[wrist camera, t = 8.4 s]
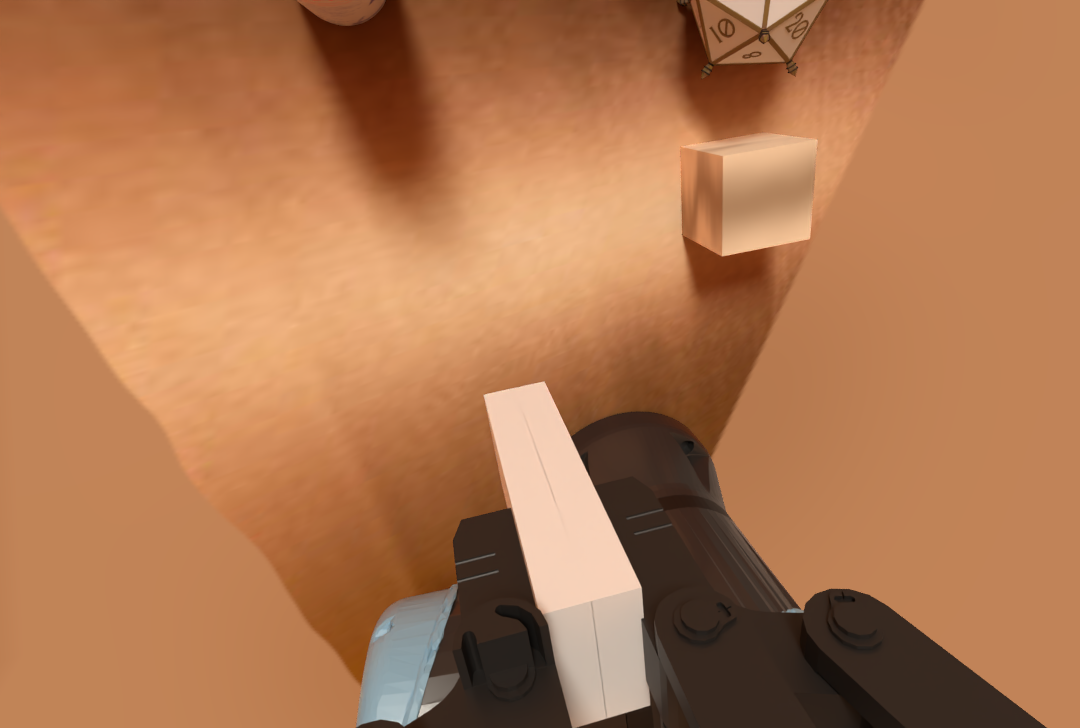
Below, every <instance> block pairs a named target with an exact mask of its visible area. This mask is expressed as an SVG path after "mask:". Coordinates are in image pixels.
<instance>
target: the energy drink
mask: <svg viewBox="0 0 1080 728" xmlns="http://www.w3.org/2000/svg"><path fill="white" fill-rule="evenodd" d="M297 1H298V2H299V3H301V4H302V5H303V6H304V7H306V8H307V9H308V10H310V11H311V12H312V13H314V14H315V15H316V16H318V17H319V18H321V19H323V20H325V21H327V22H329V23H333V24H337V25H341V26H352V25H357V24H361V23H363V22H366V21H368V20H370V19H371V18H372V17H374V16H375V15H376V14H377V13H378V12H379V11H380V9H381V8H382V7H383V5H384V3H385V1H386V0H297Z"/></svg>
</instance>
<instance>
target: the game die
mask: <svg viewBox="0 0 1080 728" xmlns="http://www.w3.org/2000/svg"><path fill="white" fill-rule="evenodd" d="M827 1H828V0H678V1H677V2H678V3H680V5H682V6H684V5H686V6H687V4H689V3H690V6H691V9H692V12H693V15H694V18H695V21H696V24H697V27H698V30H699V34H700V37H701V40H702V43H703V46H704V49H705V52H706V55H707V58H708V61H709V63H708V64H707V65H706V66H704V69H703V70H701V71H702V79H703V78H705V77H706V76H708V75H710V72H712V67H713V66H716V65H746V64H777V63H786V64H787V68H786V69H788V73H790V74H792V75H794V76H795V77H796V72H797V68H798V67H796V65H795V64H796V63H794V62H793V61H792V59H793V57H794V56H795V54H796V52H797V51H798V49H799V47H800V46H801V44H802V42H803V41H804V39H805V37H806V36H807V34H808V32H809V31H810V29H811V27H812V26H813V24H814V22H815V21H816V19H817V18H818V16H819V14H820V13H821V11H822V9H823V8H824V6H825V4H826V3H827Z"/></svg>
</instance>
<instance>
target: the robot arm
mask: <svg viewBox="0 0 1080 728" xmlns="http://www.w3.org/2000/svg"><path fill="white" fill-rule="evenodd" d="M484 399H485V404H486V409H487V414H488V419H489V424H490V429H491V434H492V439H493V443H494V448H495V453H496V458H497V463H498V468H499V473H500V478H501V483H502V487H503V491H504V495H505V499H506V503H507V508H508V509H504V510H500V511H496V512H492V513H488V514H484V515H480V516H475V517H471V518H467V519H463V520H461V522H460V525H459V527H458V530H457V532H456V534H455V537H454V539H453V547H454V556H455V564H456V575H457V582H458V584H454V585H452V586H451V587H450V588H449V589H445V590H440V591H436V592H431V593H426V594H422V595H417V596H412V597H408V598H404V599H401V600H399V601H397V602H395V603H393V604H392V605H391V606H389V607H388V608H387V609H386V610H385V611H384V613H383V614H382V615H381V617H380V618H379V620H378V622H377V624H376V626H375V629H374V631H373V634H372V637H371V641H370V644H369V649H368V653H367V657H366V663H365V668H364V674H363V679H362V686H361V693H360V700H359V708H358V716H357V724H356V728H1046V727H1045V726H1044V725H1042V724H1041V723H1040V722H1039V721H1037V720H1036V719H1035V718H1033V717H1032V716H1031V715H1029V714H1028V713H1027V712H1026V711H1024V710H1023V709H1022V708H1020V707H1019V706H1018V705H1016V704H1015V703H1014V702H1012V701H1011V700H1010V699H1009V698H1007V697H1006V696H1004V695H1003V694H1002V693H1001V692H999V691H998V690H997V689H995V688H994V687H993V686H992V685H990V684H989V683H988V682H986V681H985V680H984V679H982V678H981V677H980V676H978V675H977V674H976V673H974V672H973V671H972V670H971V669H969V668H968V667H967V666H965V665H964V664H963V663H961V662H960V661H959V660H958V659H956V658H955V657H954V656H952V655H951V654H950V653H948V652H947V651H946V650H944V649H943V648H942V647H941V646H939V645H938V644H937V643H935V642H934V641H933V640H931V639H930V638H929V637H927V636H926V635H925V634H924V633H922V632H921V631H920V630H918V629H917V628H916V627H914V626H913V625H912V624H910V623H909V622H908V621H907V620H905V619H904V618H903V617H901V616H900V615H899V614H897V613H896V612H895V611H893V610H892V609H891V608H890V607H888V606H887V605H885V604H884V603H882V602H880V601H878V600H877V599H875V598H873V597H871V596H870V595H867V594H863V593H860V592H857V591H854V590H850V589H829V590H826V591H823V592H820V593H817V594H815V595H814V596H813V597H812V598H811V599H810V600H809V601H808V602H807V603H806V604H805V609H804V611H803V610H801V609H800V607H799V606H798V605H797V604H796V602H795V601H794V600H793V598H792V597H791V596H790V595H789V593H788V592H787V591H786V590H785V588H784V587H783V586H782V584H781V583H780V582H779V580H778V579H777V578H776V576H775V575H774V574H773V573H772V571H771V570H770V569H769V567H768V566H767V565H766V564H765V562H764V561H763V560H762V558H761V557H760V556H759V554H758V553H757V552H756V550H755V549H754V548H753V547H752V545H751V544H750V543H749V541H748V540H747V539H746V537H745V536H744V535H743V534H742V532H741V531H740V529H739V528H738V527H737V526H736V525H735V523H734V522H733V521H732V519H731V518H730V517H729V515H728V514H727V512H726V510H725V506H724V502H723V498H722V494H721V490H720V486H719V482H718V478H717V474H716V471H715V467H714V464H713V462H712V459H711V457H710V455H709V454H708V452H707V450H706V449H705V448H704V446H703V445H702V444H701V443H700V441H699V440H698V439H697V438H696V436H695V435H694V434H693V433H692V432H691V431H690V430H689V429H688V428H687V427H686V426H684V425H683V424H682V423H680V422H679V421H677V420H675V419H673V418H670V417H668V416H665V415H662V414H657V413H651V412H628V413H622V414H617V415H613V416H610V417H607V418H604V419H601V420H599V421H596V422H594V423H592V424H590V425H588V426H587V427H585V428H583V429H582V430H580V431H579V432H577V433H576V434H574V435H573V436H572V437H570V435H569V433H568V431H567V428H566V426H565V424H564V422H563V420H562V418H561V416H560V414H559V411H558V409H557V407H556V405H555V403H554V401H553V399H552V397H551V395H550V392H549V390H548V388H547V386H546V384H545V382H539V383H535V384H530V385H526V386H521V387H517V388H512V389H508V390H503V391H498V392H494V393H489V394H485V395H484Z"/></svg>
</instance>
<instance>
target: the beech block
mask: <svg viewBox="0 0 1080 728" xmlns="http://www.w3.org/2000/svg"><path fill="white" fill-rule="evenodd" d="M817 141H818V139H811V138H804V137H796V136H788V135H781V134H773V133H766V132H762V133H756V134H750V135H744V136H739V137H733V138H727V139H721V140H715V141H710V142H704V143H698V144H692V145H687V146H681V147H680V157H681V201H682V235H683V236H685V237H687V238H689V239H691V240H692V241H694V242H696V243H698V244H700V245H702V246H704V247H705V248H707V249H709V250H711V251H713V252H715V253H717V254H718V255H720V256H727V255H732V254H737V253H742V252H747V251H752V250H757V249H762V248H767V247H772V246H777V245H782V244H787V243H792V242H797V241H802V240H807V239H810V232H811V219H812V206H813V193H814V180H815V167H816V154H817Z"/></svg>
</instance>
